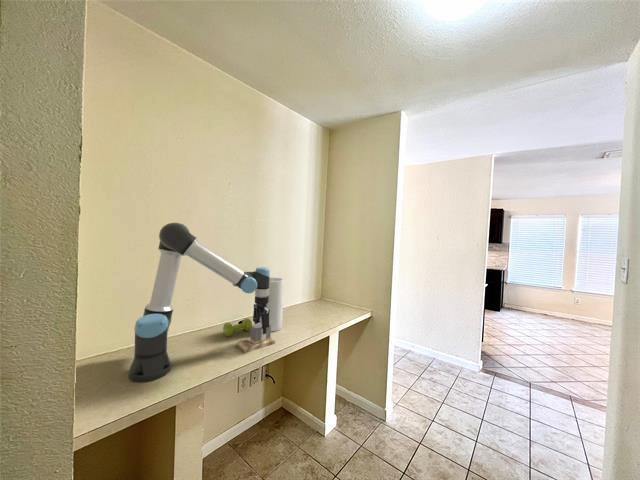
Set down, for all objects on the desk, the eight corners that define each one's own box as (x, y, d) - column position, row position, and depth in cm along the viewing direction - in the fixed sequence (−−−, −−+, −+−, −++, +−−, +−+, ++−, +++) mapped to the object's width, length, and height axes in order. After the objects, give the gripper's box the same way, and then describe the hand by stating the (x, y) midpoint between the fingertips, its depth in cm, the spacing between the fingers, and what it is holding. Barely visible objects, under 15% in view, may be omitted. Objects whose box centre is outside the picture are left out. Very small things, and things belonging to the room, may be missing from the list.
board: (245, 352, 134) (245, 348, 134) (236, 345, 142) (236, 341, 142) (275, 343, 146) (275, 340, 146) (265, 337, 154) (266, 334, 154)
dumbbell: (227, 338, 150) (228, 326, 150) (221, 334, 156) (221, 322, 155) (253, 331, 162) (253, 320, 161) (246, 327, 167) (246, 316, 167)
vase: (268, 334, 158) (271, 282, 157) (254, 327, 168) (256, 278, 167) (286, 328, 169) (288, 279, 168) (272, 322, 179) (274, 276, 177)
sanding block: (255, 343, 140) (256, 328, 140) (250, 339, 145) (250, 325, 144) (270, 339, 146) (270, 325, 146) (264, 335, 151) (265, 322, 150)
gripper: (277, 298, 140) (275, 341, 141) (259, 291, 154) (257, 330, 155) (264, 300, 135) (263, 345, 136) (247, 292, 149) (245, 333, 150)
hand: (260, 337), depth 145 cm, fingers closed on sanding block, 6 cm apart
